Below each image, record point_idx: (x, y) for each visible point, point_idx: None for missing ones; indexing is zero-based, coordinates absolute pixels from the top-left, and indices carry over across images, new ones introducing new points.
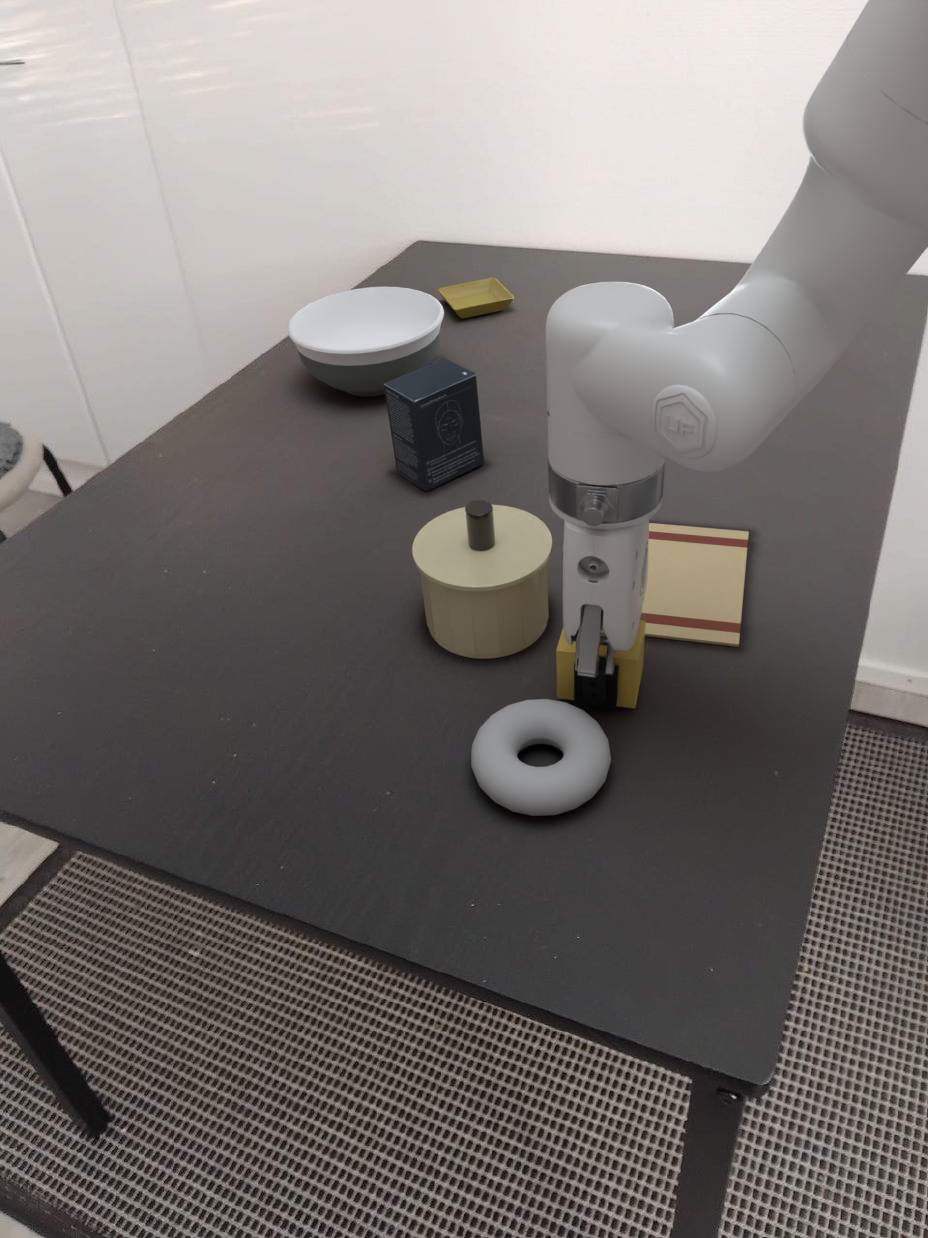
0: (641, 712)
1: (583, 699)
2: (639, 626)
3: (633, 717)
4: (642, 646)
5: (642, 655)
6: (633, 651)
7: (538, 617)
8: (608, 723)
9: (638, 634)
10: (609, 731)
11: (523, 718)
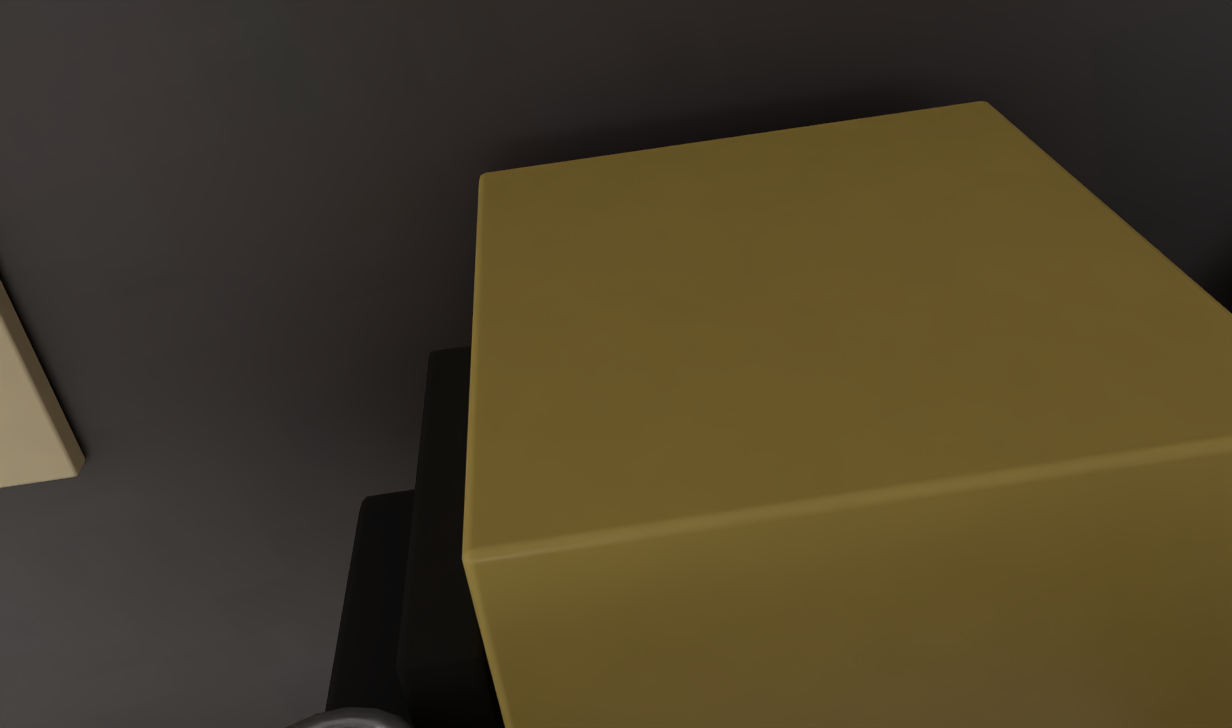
0: (907, 31)
1: None
2: (629, 593)
3: (973, 77)
4: (712, 369)
5: (614, 277)
6: (1174, 517)
7: None
8: None
9: (796, 555)
10: (1137, 201)
11: None
